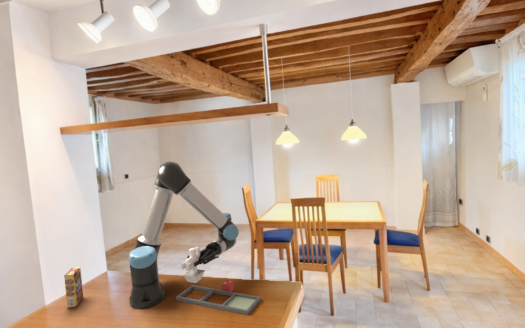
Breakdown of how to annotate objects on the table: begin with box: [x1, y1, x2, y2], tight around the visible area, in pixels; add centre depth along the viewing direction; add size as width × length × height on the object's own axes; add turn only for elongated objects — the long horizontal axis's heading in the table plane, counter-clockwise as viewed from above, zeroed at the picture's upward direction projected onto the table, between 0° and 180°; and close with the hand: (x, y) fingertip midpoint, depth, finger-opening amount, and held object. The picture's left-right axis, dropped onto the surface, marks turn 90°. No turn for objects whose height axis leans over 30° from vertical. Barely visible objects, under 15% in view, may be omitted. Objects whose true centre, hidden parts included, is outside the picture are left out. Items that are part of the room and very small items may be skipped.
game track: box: [175, 284, 262, 316], centre depth 138 cm, size 37×12×2 cm, turn 64°
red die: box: [221, 279, 235, 292], centre depth 146 cm, size 4×4×4 cm
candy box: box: [63, 266, 84, 309], centre depth 145 cm, size 9×4×15 cm, turn 12°
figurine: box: [182, 246, 205, 284], centre depth 142 cm, size 7×9×15 cm
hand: (185, 266), depth 137 cm, fingers closed on figurine, 3 cm apart
